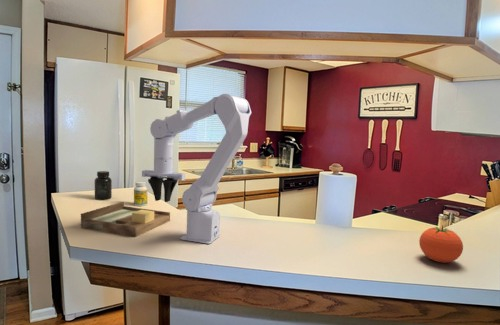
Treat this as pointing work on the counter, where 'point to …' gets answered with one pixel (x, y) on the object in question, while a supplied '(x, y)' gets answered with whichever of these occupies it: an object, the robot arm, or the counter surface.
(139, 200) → the supplement bottle
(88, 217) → the box
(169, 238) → the counter surface
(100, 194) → the supplement bottle
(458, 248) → the tomato
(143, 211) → the block
